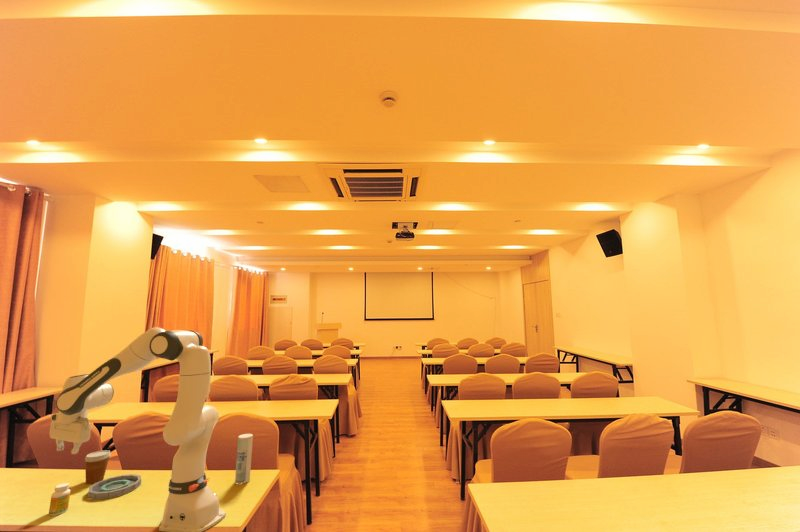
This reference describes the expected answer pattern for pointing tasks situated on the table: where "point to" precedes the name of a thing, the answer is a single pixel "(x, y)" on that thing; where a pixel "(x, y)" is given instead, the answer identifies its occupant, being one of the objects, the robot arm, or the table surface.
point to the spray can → (243, 458)
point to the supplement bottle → (59, 499)
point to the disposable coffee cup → (96, 466)
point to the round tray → (114, 486)
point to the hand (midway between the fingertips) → (67, 452)
